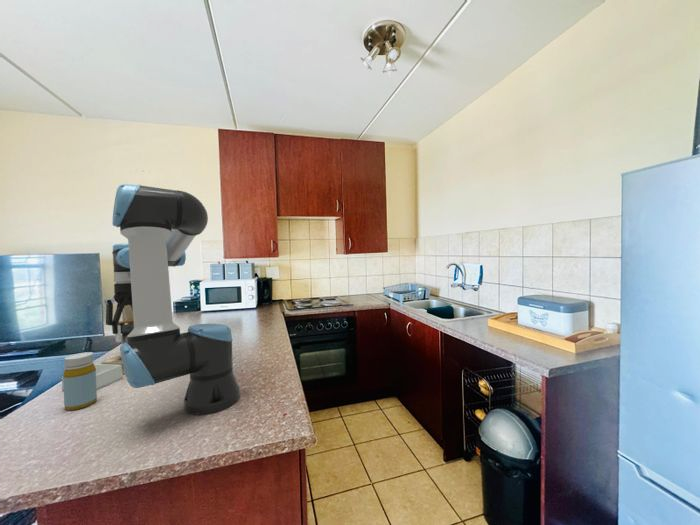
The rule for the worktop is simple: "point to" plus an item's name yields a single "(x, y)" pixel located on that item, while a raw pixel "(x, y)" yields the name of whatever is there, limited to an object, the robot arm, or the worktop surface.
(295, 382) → the worktop surface
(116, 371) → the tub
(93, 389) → the bottle
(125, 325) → the grey capped post
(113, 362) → the eye block
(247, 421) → the worktop surface
